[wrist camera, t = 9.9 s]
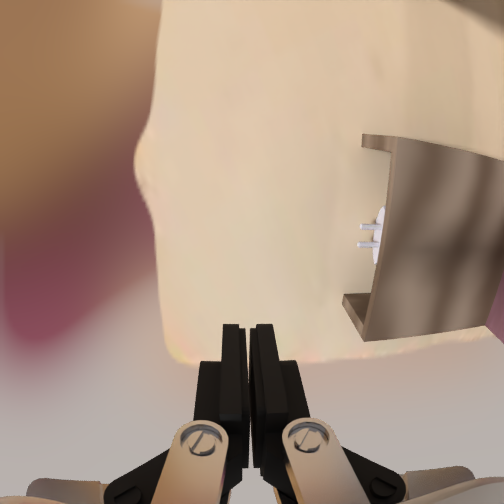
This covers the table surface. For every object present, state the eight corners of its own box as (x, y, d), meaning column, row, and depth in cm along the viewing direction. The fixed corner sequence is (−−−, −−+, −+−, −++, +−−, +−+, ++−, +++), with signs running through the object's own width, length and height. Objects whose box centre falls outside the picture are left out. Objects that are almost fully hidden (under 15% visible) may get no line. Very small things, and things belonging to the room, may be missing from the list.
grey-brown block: (488, 159, 28) (582, 186, 15) (461, 296, 34) (527, 359, 21) (362, 134, 27) (458, 144, 14) (342, 304, 33) (394, 397, 20)
